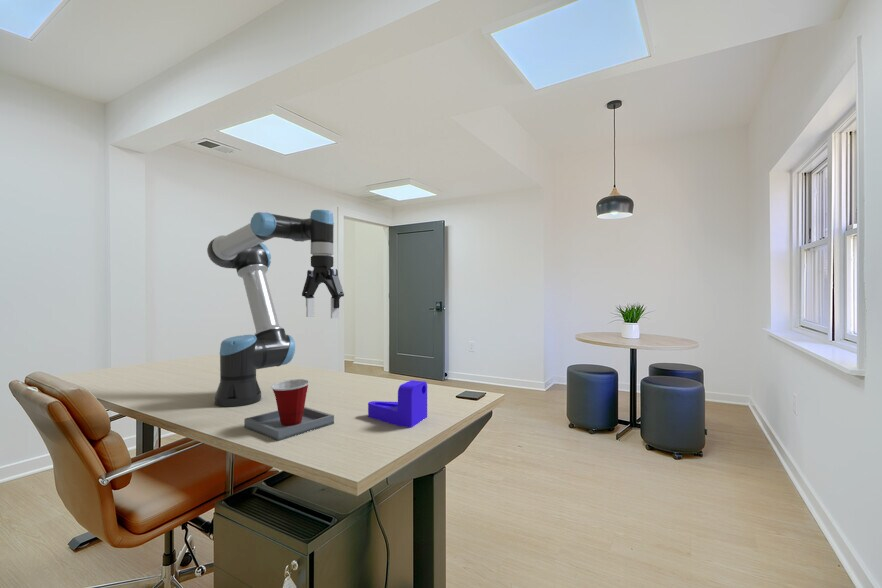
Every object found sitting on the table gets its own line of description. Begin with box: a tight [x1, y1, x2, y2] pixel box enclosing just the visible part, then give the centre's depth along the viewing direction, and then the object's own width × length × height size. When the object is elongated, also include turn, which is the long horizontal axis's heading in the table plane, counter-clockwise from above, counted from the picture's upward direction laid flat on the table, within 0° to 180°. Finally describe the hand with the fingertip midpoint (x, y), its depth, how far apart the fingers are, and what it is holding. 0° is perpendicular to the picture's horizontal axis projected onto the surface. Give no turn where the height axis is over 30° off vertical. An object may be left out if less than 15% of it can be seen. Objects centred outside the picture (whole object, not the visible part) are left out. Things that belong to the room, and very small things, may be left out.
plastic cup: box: [270, 378, 310, 426], centre depth 121 cm, size 11×11×12 cm
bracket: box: [367, 379, 428, 429], centre depth 127 cm, size 18×11×12 cm, turn 67°
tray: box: [243, 406, 335, 442], centre depth 121 cm, size 18×18×2 cm
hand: (322, 317), depth 140 cm, fingers open, 13 cm apart
